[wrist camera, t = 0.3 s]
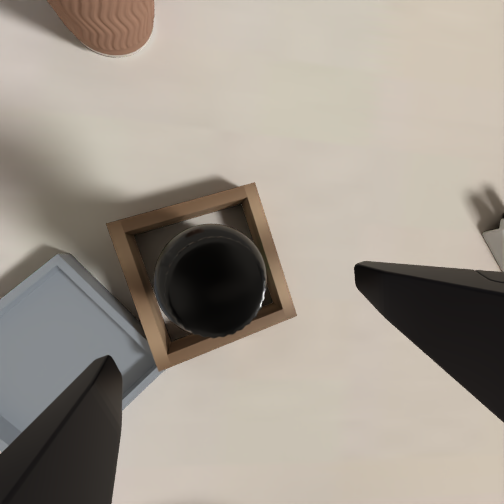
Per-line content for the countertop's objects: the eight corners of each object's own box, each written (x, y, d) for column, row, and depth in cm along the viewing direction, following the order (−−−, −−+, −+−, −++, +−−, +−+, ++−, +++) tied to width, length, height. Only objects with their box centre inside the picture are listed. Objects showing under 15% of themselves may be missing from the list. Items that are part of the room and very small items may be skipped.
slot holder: (285, 308, 25) (296, 315, 22) (163, 356, 23) (158, 371, 20) (247, 190, 24) (254, 182, 21) (118, 227, 22) (106, 223, 19)
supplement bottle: (249, 240, 24) (297, 229, 13) (237, 312, 24) (275, 366, 12) (175, 227, 23) (154, 199, 11) (162, 302, 23) (125, 355, 11)
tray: (172, 354, 23) (170, 363, 21) (58, 464, 21) (43, 485, 19) (70, 253, 21) (57, 253, 19) (-66, 362, 19) (-95, 374, 17)
